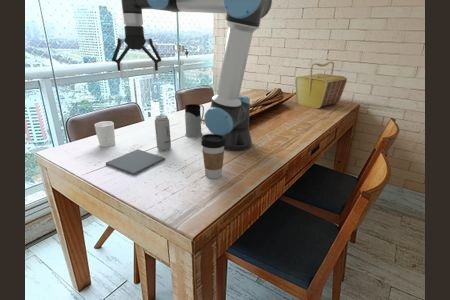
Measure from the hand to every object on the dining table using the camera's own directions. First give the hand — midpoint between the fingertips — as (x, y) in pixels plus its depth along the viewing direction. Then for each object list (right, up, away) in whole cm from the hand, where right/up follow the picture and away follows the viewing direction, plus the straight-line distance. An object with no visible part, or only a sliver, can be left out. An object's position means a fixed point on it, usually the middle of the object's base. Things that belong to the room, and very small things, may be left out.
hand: (139, 78), depth 120 cm
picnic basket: (+107, +2, +83) cm, 136 cm away
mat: (+2, -36, -11) cm, 38 cm away
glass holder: (+23, -23, +21) cm, 39 cm away
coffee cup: (+34, -41, -20) cm, 57 cm away
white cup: (-17, -29, +6) cm, 34 cm away
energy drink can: (+11, -31, +1) cm, 33 cm away
